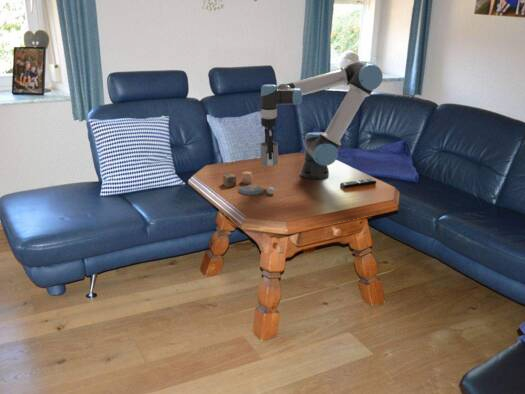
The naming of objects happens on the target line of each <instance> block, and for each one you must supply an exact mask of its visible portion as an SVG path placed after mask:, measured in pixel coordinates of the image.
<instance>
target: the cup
mask: <svg viewBox="0 0 525 394" xmlns="http://www.w3.org/2000/svg"><path fill="white" fill-rule="evenodd" d="M278 146H279V144H278V143H277V142H275V141H273V151H274V152H273V166H276V165H278V159H279V153H278V152H279V150H278V149H279V147H278ZM267 151H268V149H267V143H266V142H265V141H263V142H261V143H260V165H262V166H265V167H268V166H267V153H266V152H267ZM273 166H272V167H273Z"/></svg>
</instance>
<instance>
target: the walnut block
mask: <svg viewBox="0 0 525 394" xmlns="http://www.w3.org/2000/svg"><path fill="white" fill-rule="evenodd" d="M222 182H223V183H222V185H224V186H225V187H226V188H230V187H237V176H236V175H235V174H233V173H227V174H226V173H225V174H222Z"/></svg>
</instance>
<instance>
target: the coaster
mask: <svg viewBox="0 0 525 394" xmlns="http://www.w3.org/2000/svg"><path fill="white" fill-rule="evenodd" d="M238 193H240V194H241V195H244V196H258V195H262V194H263V193H264V188H263V187H261V186H257V185H243V186H241V187H239V188H238Z"/></svg>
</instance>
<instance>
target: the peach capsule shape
mask: <svg viewBox="0 0 525 394" xmlns="http://www.w3.org/2000/svg"><path fill="white" fill-rule="evenodd" d="M241 183H242V184H245V185H246V184H247V185H249V184H252V183H253V172H252V171H243V172H242V173H241Z"/></svg>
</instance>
